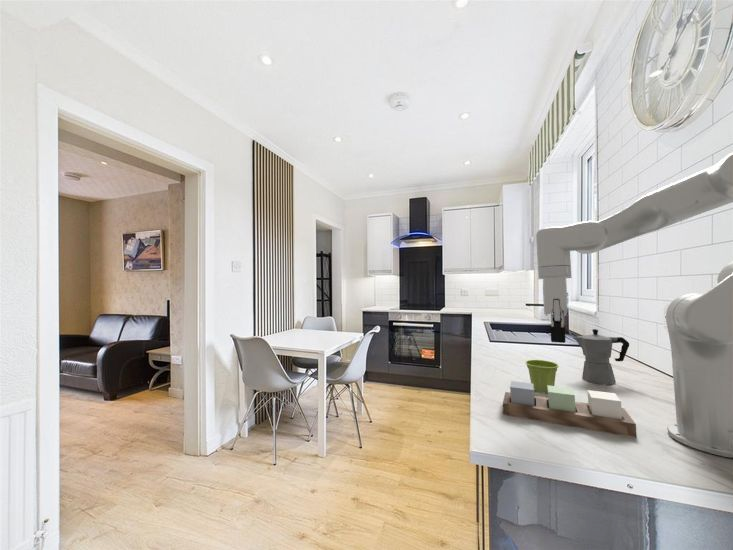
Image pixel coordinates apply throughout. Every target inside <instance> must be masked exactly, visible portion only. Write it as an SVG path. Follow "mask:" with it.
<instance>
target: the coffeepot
mask: <svg viewBox="0 0 733 550" xmlns="http://www.w3.org/2000/svg"><path fill="white" fill-rule="evenodd" d="M592 333H593V334H587V335H580V336H579V335H578V336H574V337H572V339H573V340H575V341H576V343H578V345H579V347H580V348H581V349H582V354H583V356H584V357H585V360H584V362H583V371H582V375H581V379H583V380H584V381H585V380H586V381H585V382H588V383H591V382H592V384H597V385H603V384H611V385H614V384H615V383H616V378H615V374H614V370H613V367H612V363H611V362H610V358H611V357H612V351H613V344H615V343H616V344H619V343H621V344H622V345H621V349H620V351H619V357H618V358H614V360H615V361H616V362H623V361H624V359H625V357H626V355H627V353H628V350H629V347H630V342H629V341H628V340H626V339H625V337H619V336H617V337H616V336H604V335H601V334H599V329H596V328H594V329H592Z"/></svg>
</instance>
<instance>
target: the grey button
mask: <svg viewBox="0 0 733 550" xmlns="http://www.w3.org/2000/svg"><path fill="white" fill-rule="evenodd" d="M510 381H511V382H510V385H509V388H510V389H509V391H510V392H509V393H511V403H518V404H524V405H531V406H535V404H534V396H535V390H534V385H533V384H532V383H531V382H521V381H516V380H510Z"/></svg>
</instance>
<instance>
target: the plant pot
mask: <svg viewBox="0 0 733 550" xmlns="http://www.w3.org/2000/svg"><path fill="white" fill-rule="evenodd" d="M524 362H525V364H526V367H527V369H528V374H529V378H530V379H529V380H530V383H532V384H533V385H534V391H536V392H537V393H542V394H543V393H544V394H548V388H547V385H549V386H556V385H555V383H556V375H557V371H558V368H559V367H560V366H559V364H558V363H556V362H553V361H549V360H545V359H544V360H543V359H528V360H526V361H524Z"/></svg>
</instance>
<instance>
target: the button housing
mask: <svg viewBox="0 0 733 550" xmlns="http://www.w3.org/2000/svg"><path fill="white" fill-rule="evenodd" d="M534 404H535V406H531V405H524V404H518V403H511V393H510V392H508V391H505V392H504V397H503V401H502V415H503V416H510V417H515V418H520V419H521V418H522V419H525V420H526V419H527V420H530V421H531V420H532V421H539V422H543V423H549V424H555V425H561V426H566V427H572V428H577V429H583V430H584V429H585V430H589V431H596V432H602V433H608V434H612V435H618V436H619V435H620V436H624V437H630V438H638V437H637V435H638V434H637V423H636V422H635V420H634V419H633V418H632V417H631V415H630V413H628V411H627V410H626V409H625V408H624V407H621V408H622V419H616V418H610V417H603V416H596V415H591V414H590V411H589V406H588V402H581V401H575V409H576V412H570V411H564V410H557V409H550V408H549V405H548V397H544V396H537V395H534Z"/></svg>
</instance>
